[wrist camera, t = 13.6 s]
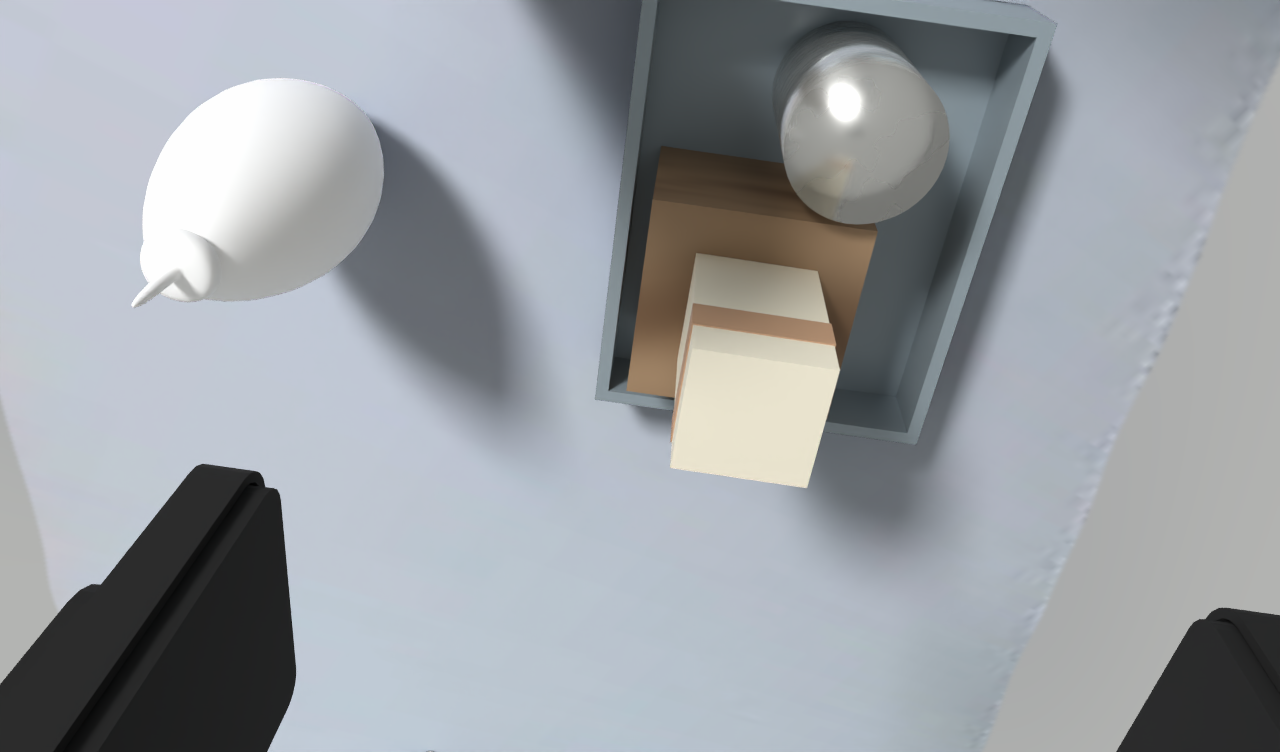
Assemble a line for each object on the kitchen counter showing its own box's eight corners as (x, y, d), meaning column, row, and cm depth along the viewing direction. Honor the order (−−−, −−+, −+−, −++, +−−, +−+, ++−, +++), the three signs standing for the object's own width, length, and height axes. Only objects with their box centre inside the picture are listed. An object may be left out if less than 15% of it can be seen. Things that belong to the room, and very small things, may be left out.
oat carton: (695, 251, 39) (690, 346, 32) (819, 270, 39) (841, 369, 32) (676, 359, 41) (668, 468, 34) (792, 376, 41) (808, 489, 34)
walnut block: (661, 145, 44) (652, 199, 38) (855, 173, 44) (877, 231, 38) (637, 318, 48) (626, 390, 42) (813, 343, 48) (827, 419, 42)
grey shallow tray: (652, -49, 40) (646, -36, 37) (1028, 5, 40) (1057, 23, 37) (603, 359, 50) (594, 399, 47) (902, 401, 50) (916, 445, 47)
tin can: (786, 11, 40) (801, 52, 33) (926, 31, 40) (970, 76, 33) (760, 149, 43) (769, 212, 37) (890, 167, 43) (924, 234, 37)
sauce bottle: (409, 228, 47) (260, 431, 32) (252, 198, 47) (26, 388, 32) (418, 70, 43) (253, 214, 28) (247, 36, 43) (-16, 162, 28)
